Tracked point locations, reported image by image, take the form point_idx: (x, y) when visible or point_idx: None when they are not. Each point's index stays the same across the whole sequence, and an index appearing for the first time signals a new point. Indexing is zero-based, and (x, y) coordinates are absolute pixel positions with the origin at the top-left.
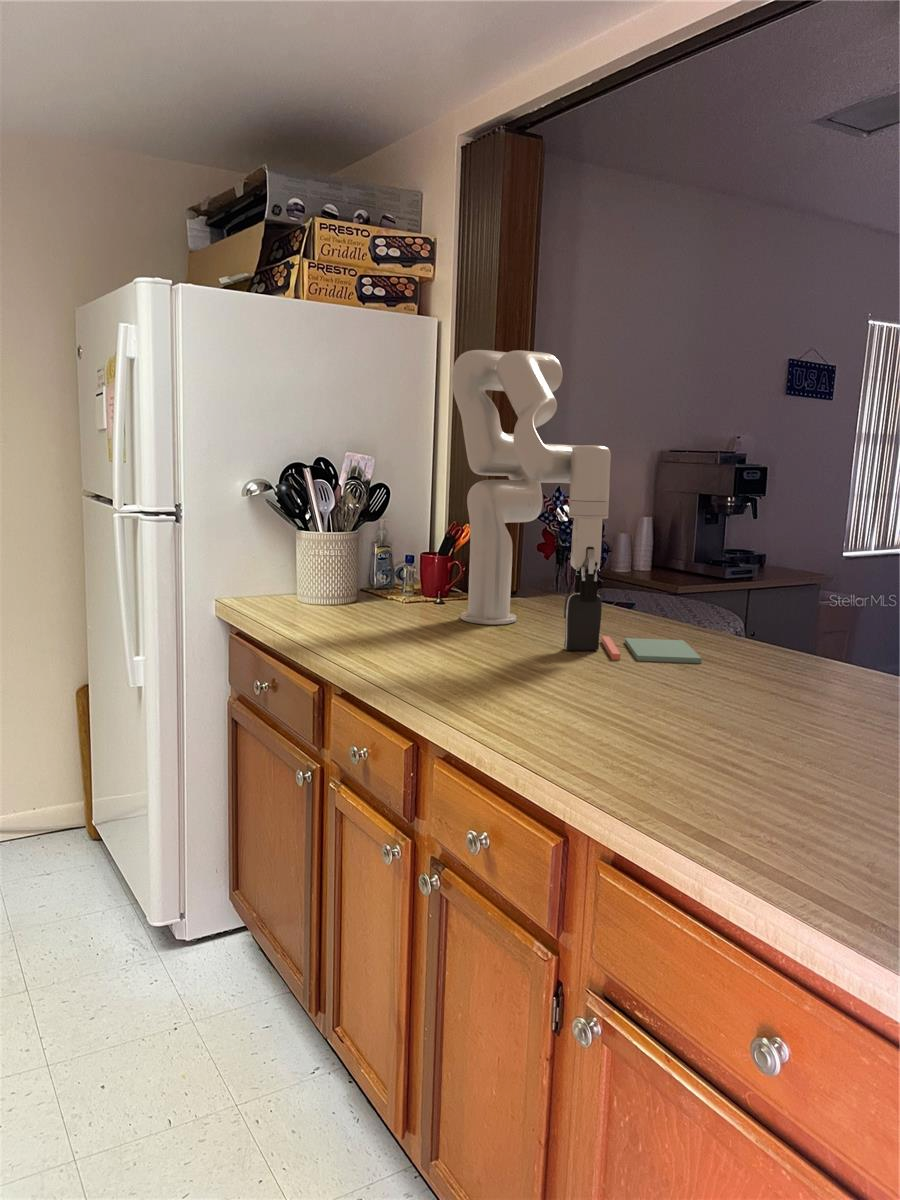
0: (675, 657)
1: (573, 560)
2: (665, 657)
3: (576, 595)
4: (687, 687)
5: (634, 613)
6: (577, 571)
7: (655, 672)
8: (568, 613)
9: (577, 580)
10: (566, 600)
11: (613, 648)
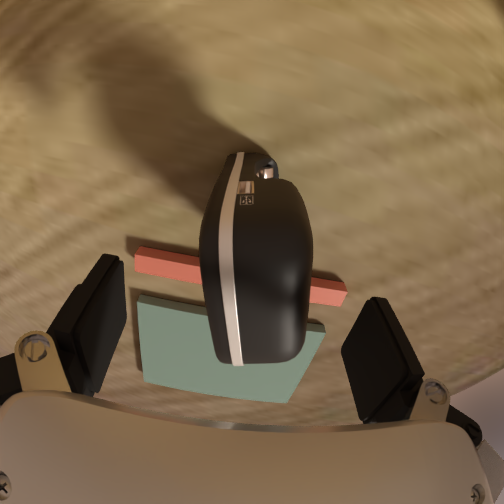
0: (141, 354)
1: (115, 489)
2: (140, 341)
3: (200, 271)
4: (4, 294)
5: (495, 370)
6: (414, 401)
7: (61, 289)
8: (215, 189)
9: (389, 358)
10: (264, 212)
11: (193, 274)
